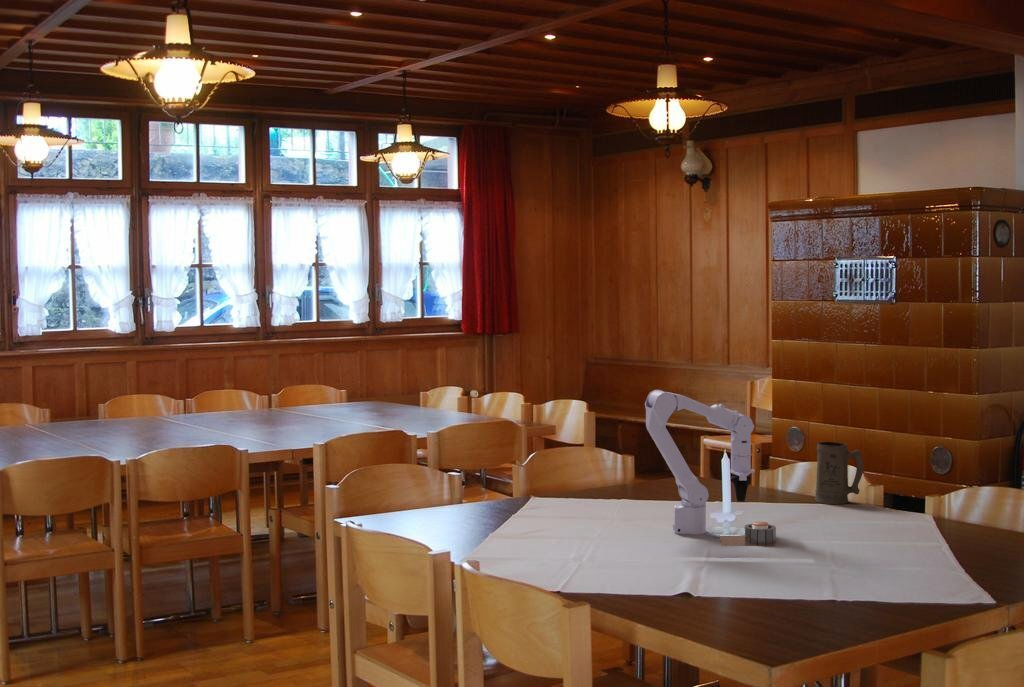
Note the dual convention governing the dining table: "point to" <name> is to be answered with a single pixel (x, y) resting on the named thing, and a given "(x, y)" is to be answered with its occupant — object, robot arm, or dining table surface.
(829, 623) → the dining table surface
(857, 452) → the beer stein
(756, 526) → the cylindrical peg
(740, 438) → the robot arm
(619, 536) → the dining table surface
